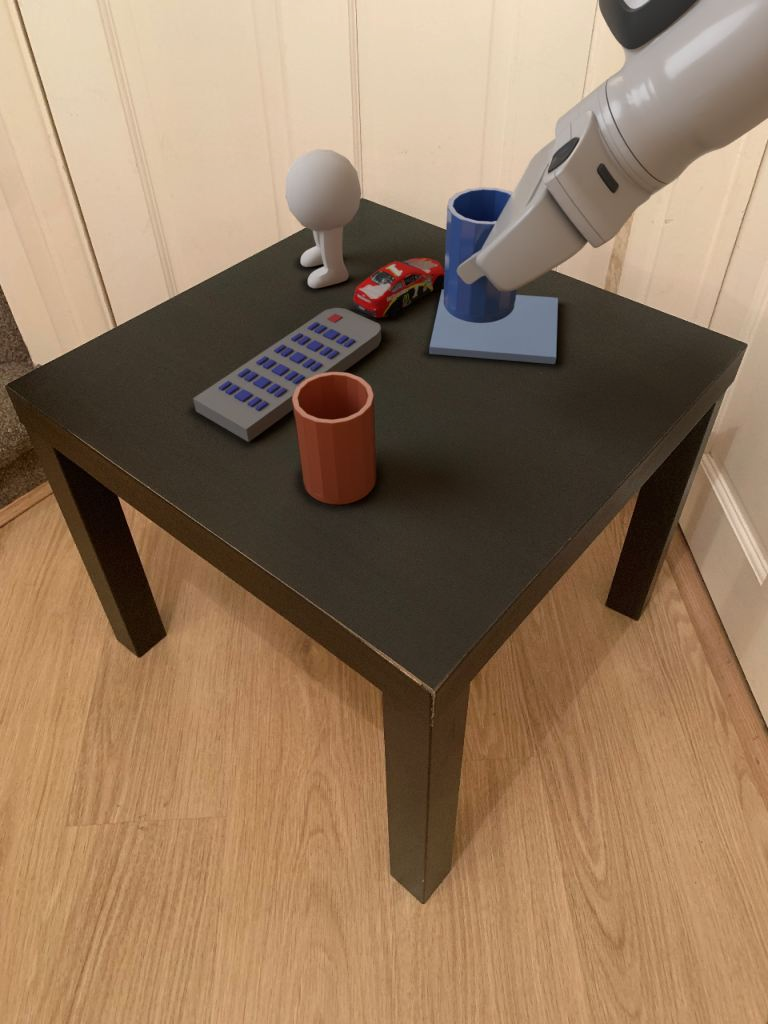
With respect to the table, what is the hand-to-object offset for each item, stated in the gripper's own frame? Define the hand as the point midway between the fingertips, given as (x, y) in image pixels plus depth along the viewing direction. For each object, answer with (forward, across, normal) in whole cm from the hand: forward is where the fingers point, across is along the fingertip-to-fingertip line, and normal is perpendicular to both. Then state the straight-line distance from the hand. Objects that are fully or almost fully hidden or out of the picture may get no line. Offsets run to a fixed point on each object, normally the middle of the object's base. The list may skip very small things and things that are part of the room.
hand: (476, 251), depth 70 cm
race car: (+22, -18, +3) cm, 28 cm away
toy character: (+30, -20, -4) cm, 36 cm away
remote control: (+26, +1, -1) cm, 26 cm away
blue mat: (+13, -14, +12) cm, 23 cm away
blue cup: (+3, 0, +4) cm, 5 cm away
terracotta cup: (+18, +14, +6) cm, 24 cm away
